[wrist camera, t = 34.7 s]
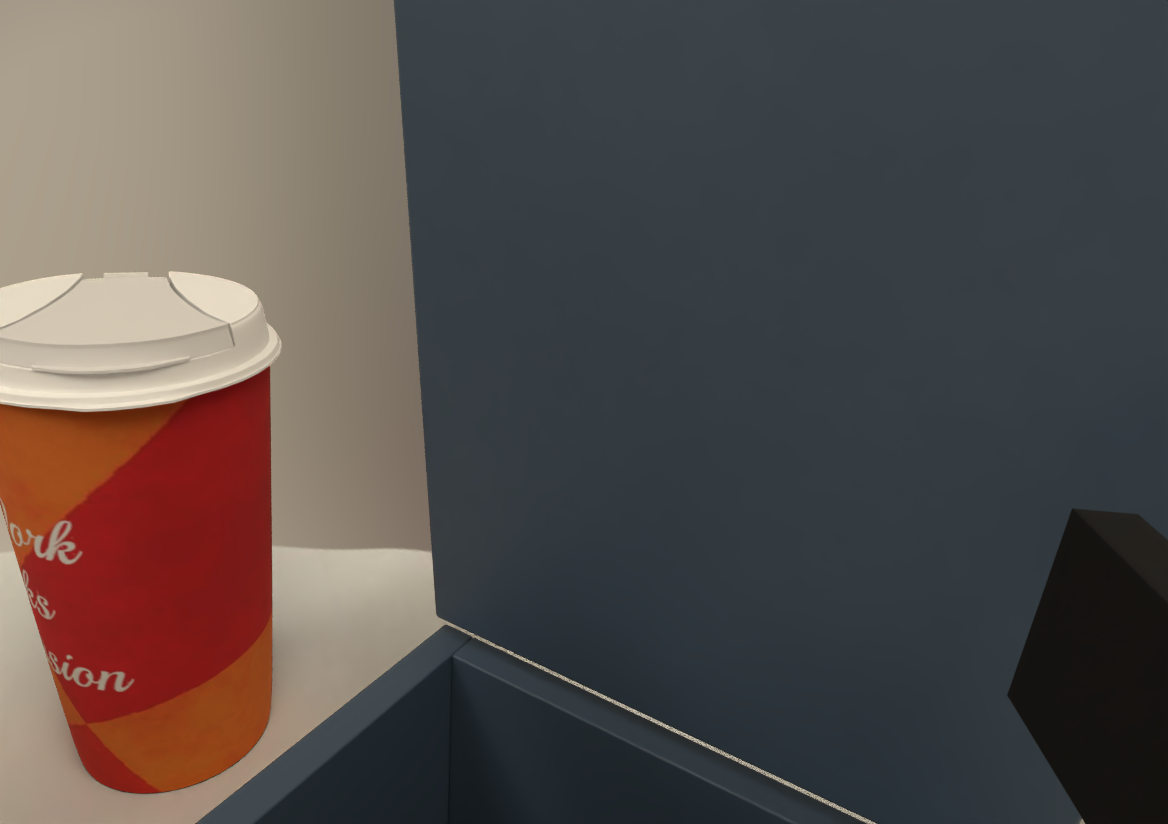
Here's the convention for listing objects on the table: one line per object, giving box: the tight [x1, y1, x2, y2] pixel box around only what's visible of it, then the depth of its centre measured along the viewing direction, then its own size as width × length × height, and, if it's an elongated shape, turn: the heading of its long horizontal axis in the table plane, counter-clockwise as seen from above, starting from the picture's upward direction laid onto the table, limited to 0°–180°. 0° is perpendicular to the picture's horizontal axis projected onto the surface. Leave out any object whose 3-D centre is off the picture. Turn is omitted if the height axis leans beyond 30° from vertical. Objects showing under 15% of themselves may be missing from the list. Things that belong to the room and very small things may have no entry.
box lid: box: [394, 0, 1168, 824], centre depth 16 cm, size 14×13×8 cm
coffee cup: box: [0, 271, 281, 793], centre depth 26 cm, size 8×8×15 cm
